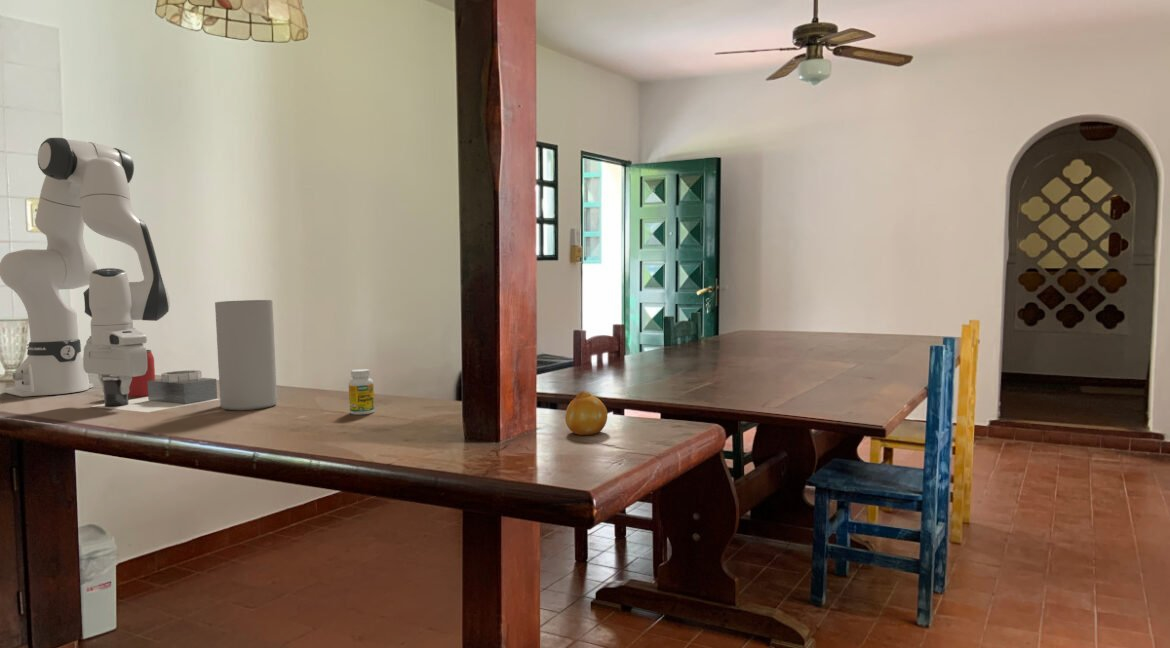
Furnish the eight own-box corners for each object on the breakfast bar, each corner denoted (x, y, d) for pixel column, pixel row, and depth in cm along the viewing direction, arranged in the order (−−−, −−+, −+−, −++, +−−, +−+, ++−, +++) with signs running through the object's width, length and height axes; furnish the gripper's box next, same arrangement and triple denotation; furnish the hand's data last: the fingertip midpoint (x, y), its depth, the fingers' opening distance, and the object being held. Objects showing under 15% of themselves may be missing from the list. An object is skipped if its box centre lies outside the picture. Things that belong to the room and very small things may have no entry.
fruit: (556, 417, 162) (565, 385, 158) (594, 417, 165) (604, 386, 161) (566, 446, 156) (576, 413, 151) (607, 446, 158) (617, 413, 154)
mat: (90, 407, 201) (90, 406, 200) (166, 395, 218) (166, 394, 218) (147, 414, 190) (147, 412, 190) (222, 400, 207) (222, 399, 207)
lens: (99, 406, 200) (97, 377, 200) (120, 402, 205) (118, 374, 204) (112, 407, 198) (110, 378, 197) (133, 404, 202) (131, 375, 202)
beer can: (121, 398, 215) (118, 352, 214) (142, 394, 221) (139, 349, 221) (142, 398, 213) (139, 352, 212) (162, 394, 220) (159, 349, 219)
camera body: (148, 400, 207) (146, 373, 207) (181, 395, 215) (179, 369, 215) (184, 404, 200) (183, 376, 200) (217, 398, 208) (215, 371, 208)
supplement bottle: (367, 409, 190) (365, 367, 189) (379, 412, 186) (377, 369, 185) (345, 413, 186) (343, 370, 185) (357, 415, 182) (355, 372, 181)
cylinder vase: (223, 404, 202) (218, 301, 200) (278, 400, 205) (273, 299, 204) (217, 412, 190) (211, 303, 188) (275, 408, 194) (270, 301, 192)
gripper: (74, 336, 202) (77, 392, 203) (125, 338, 192) (129, 397, 193) (99, 334, 208) (103, 389, 209) (151, 336, 198) (154, 393, 199)
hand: (116, 393), depth 201 cm, fingers closed on lens, 5 cm apart
